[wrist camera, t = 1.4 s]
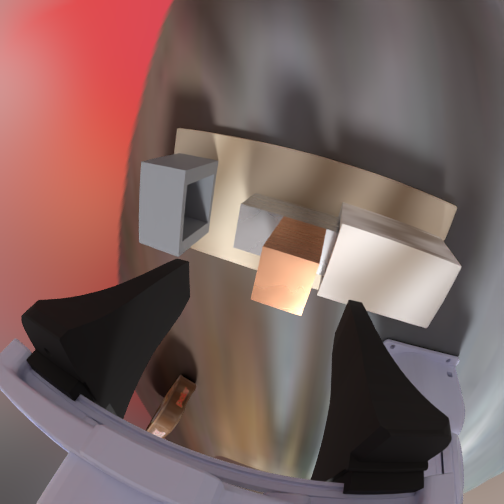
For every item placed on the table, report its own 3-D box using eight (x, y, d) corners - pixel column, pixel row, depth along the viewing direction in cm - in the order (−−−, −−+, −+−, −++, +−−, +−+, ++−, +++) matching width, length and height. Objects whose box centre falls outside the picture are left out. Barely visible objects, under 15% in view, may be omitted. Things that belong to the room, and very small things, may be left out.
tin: (186, 364, 33) (153, 412, 26) (207, 378, 33) (177, 428, 26) (161, 401, 41) (137, 436, 33) (177, 411, 40) (154, 447, 33)
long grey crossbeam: (438, 252, 17) (474, 314, 10) (422, 287, 18) (445, 356, 12) (255, 193, 19) (207, 229, 13) (248, 231, 21) (201, 281, 14)
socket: (218, 160, 20) (185, 170, 16) (208, 232, 23) (178, 256, 19) (179, 153, 21) (141, 161, 17) (173, 221, 24) (139, 242, 19)
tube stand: (454, 205, 16) (484, 230, 12) (405, 312, 21) (413, 356, 16) (181, 128, 20) (138, 131, 16) (170, 237, 25) (134, 263, 20)
